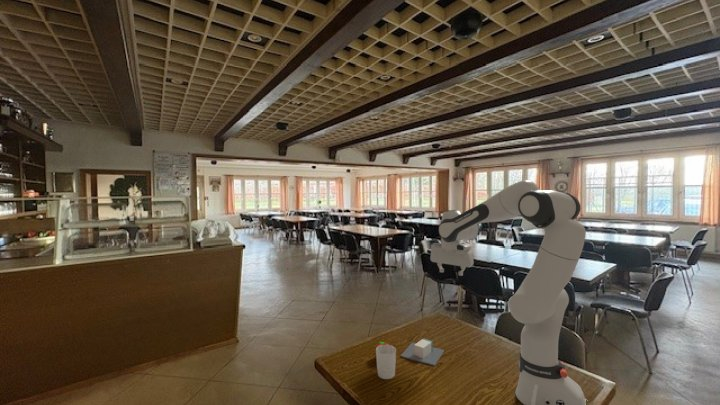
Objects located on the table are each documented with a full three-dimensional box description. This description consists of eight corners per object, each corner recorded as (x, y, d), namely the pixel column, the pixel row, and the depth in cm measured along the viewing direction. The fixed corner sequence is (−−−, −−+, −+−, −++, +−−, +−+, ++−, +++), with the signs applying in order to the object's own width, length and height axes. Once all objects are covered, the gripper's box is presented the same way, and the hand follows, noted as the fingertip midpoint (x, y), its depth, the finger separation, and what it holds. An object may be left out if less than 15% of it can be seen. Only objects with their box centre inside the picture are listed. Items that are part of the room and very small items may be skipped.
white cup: (372, 371, 125) (372, 347, 125) (389, 367, 129) (389, 343, 128) (382, 382, 118) (382, 356, 118) (400, 377, 121) (400, 351, 121)
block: (423, 358, 134) (432, 351, 140) (423, 348, 134) (432, 341, 140) (414, 354, 137) (423, 348, 143) (414, 344, 137) (423, 338, 143)
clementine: (371, 357, 136) (371, 341, 136) (383, 352, 140) (383, 336, 140) (383, 365, 130) (383, 348, 130) (395, 360, 134) (395, 343, 134)
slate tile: (443, 351, 141) (443, 349, 141) (434, 366, 129) (434, 364, 129) (412, 343, 148) (412, 342, 148) (400, 356, 136) (400, 355, 136)
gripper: (427, 243, 152) (427, 271, 152) (469, 247, 138) (469, 278, 138) (434, 241, 156) (434, 269, 157) (474, 245, 143) (474, 276, 143)
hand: (451, 273), depth 147 cm, fingers open, 8 cm apart
